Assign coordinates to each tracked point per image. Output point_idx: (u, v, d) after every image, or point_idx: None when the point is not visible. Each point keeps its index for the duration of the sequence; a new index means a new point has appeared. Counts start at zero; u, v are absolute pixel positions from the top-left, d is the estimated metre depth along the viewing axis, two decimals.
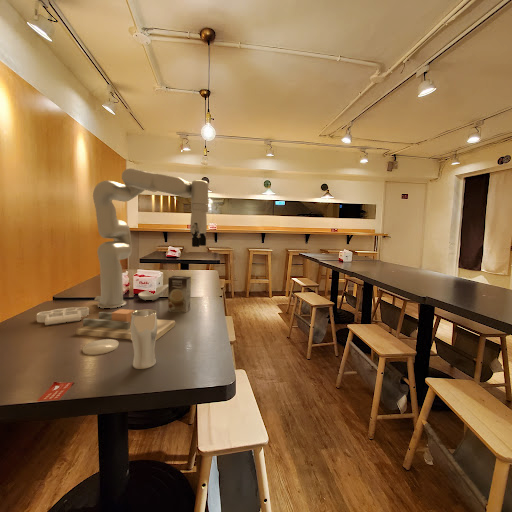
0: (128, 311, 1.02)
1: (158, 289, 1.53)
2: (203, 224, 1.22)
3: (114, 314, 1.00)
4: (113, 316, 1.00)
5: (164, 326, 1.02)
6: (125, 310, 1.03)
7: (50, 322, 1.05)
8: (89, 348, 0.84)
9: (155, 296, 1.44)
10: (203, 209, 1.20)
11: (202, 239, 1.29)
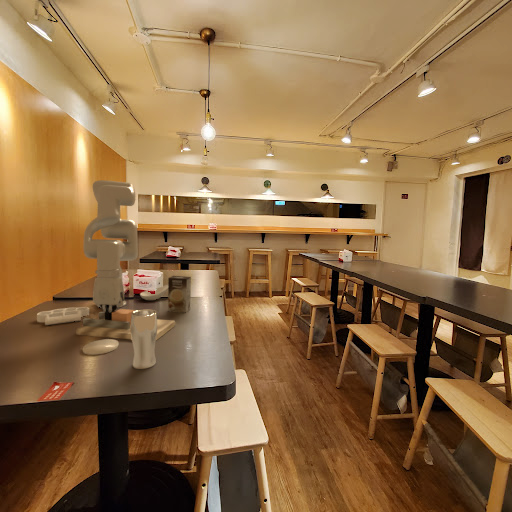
0: (128, 311, 1.02)
1: (161, 289, 1.53)
2: None
3: (114, 314, 1.00)
4: (113, 316, 1.00)
5: (164, 326, 1.02)
6: (125, 310, 1.03)
7: (50, 322, 1.05)
8: (89, 348, 0.84)
9: (156, 296, 1.44)
10: None
11: None
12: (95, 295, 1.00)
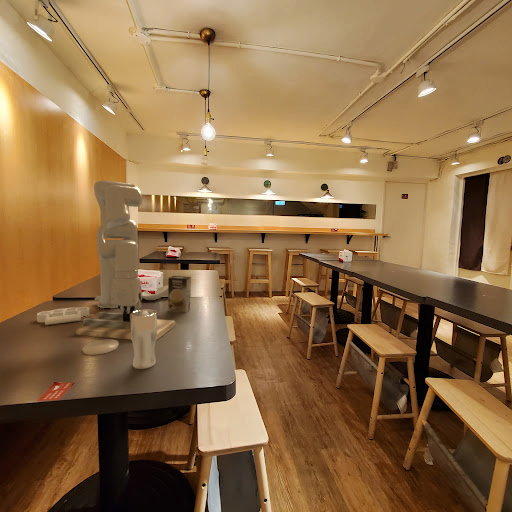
0: None
1: (161, 289, 1.53)
2: None
3: None
4: None
5: (164, 326, 1.02)
6: None
7: (50, 322, 1.05)
8: (89, 348, 0.84)
9: (156, 296, 1.44)
10: None
11: None
12: (113, 296, 0.99)
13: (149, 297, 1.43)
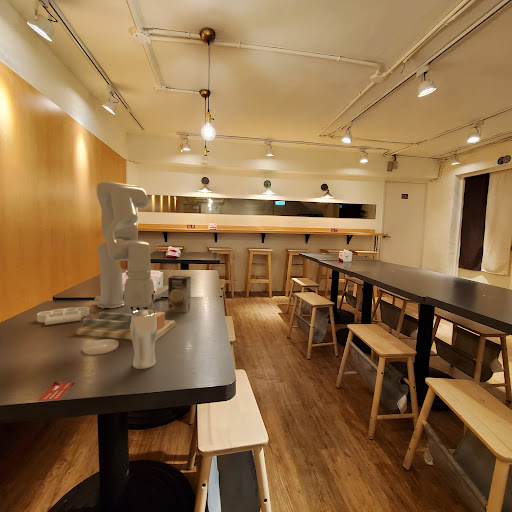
0: (159, 313, 1.00)
1: (162, 289, 1.53)
2: None
3: None
4: None
5: (164, 326, 1.02)
6: (156, 312, 1.02)
7: (50, 322, 1.05)
8: (89, 348, 0.84)
9: (157, 296, 1.45)
10: None
11: None
12: (126, 297, 0.98)
13: None
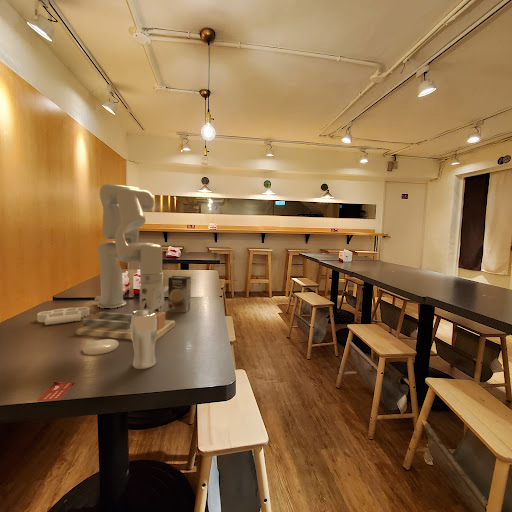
0: (159, 313, 1.01)
1: (164, 289, 1.54)
2: None
3: None
4: None
5: (164, 326, 1.02)
6: (156, 312, 1.02)
7: (50, 322, 1.05)
8: (89, 348, 0.84)
9: None
10: None
11: None
12: (153, 301, 0.96)
13: None
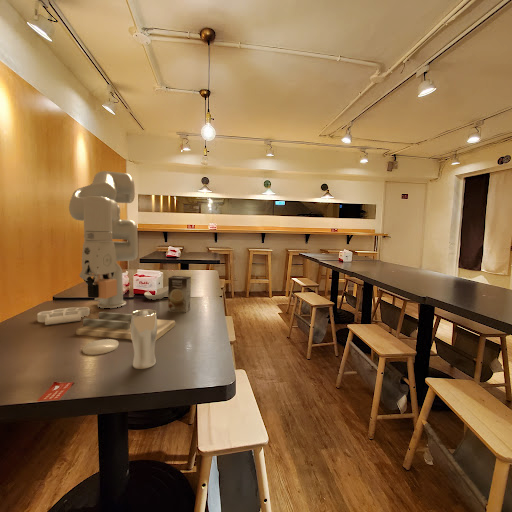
0: (109, 280, 0.85)
1: (165, 289, 1.54)
2: None
3: None
4: None
5: (164, 326, 1.02)
6: (105, 279, 0.86)
7: (50, 322, 1.05)
8: (89, 348, 0.84)
9: (159, 295, 1.45)
10: None
11: None
12: (98, 264, 0.80)
13: (152, 296, 1.44)
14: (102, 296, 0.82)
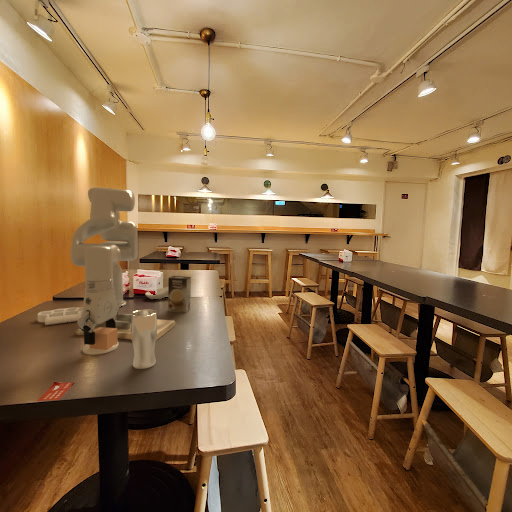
0: (109, 330, 0.86)
1: (166, 289, 1.54)
2: None
3: None
4: None
5: (164, 326, 1.02)
6: (106, 329, 0.87)
7: (50, 322, 1.05)
8: (89, 348, 0.84)
9: (160, 295, 1.45)
10: None
11: None
12: (99, 313, 0.82)
13: (152, 296, 1.44)
14: (103, 347, 0.84)
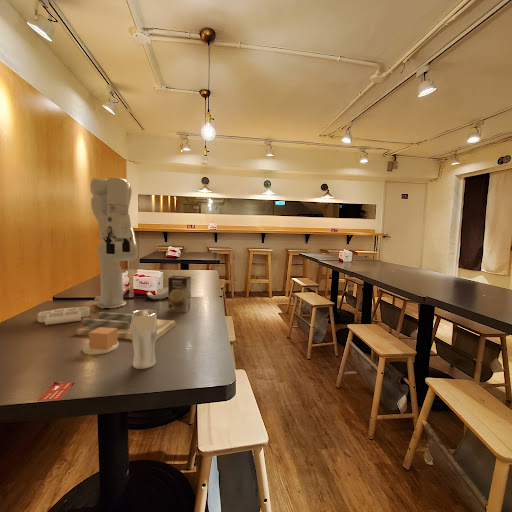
0: (109, 330, 0.86)
1: None
2: None
3: (92, 334, 0.84)
4: (91, 337, 0.84)
5: (164, 326, 1.02)
6: (106, 329, 0.87)
7: (50, 322, 1.05)
8: (89, 348, 0.84)
9: (161, 295, 1.46)
10: None
11: None
12: (118, 230, 1.04)
13: (154, 296, 1.45)
14: (103, 347, 0.84)
